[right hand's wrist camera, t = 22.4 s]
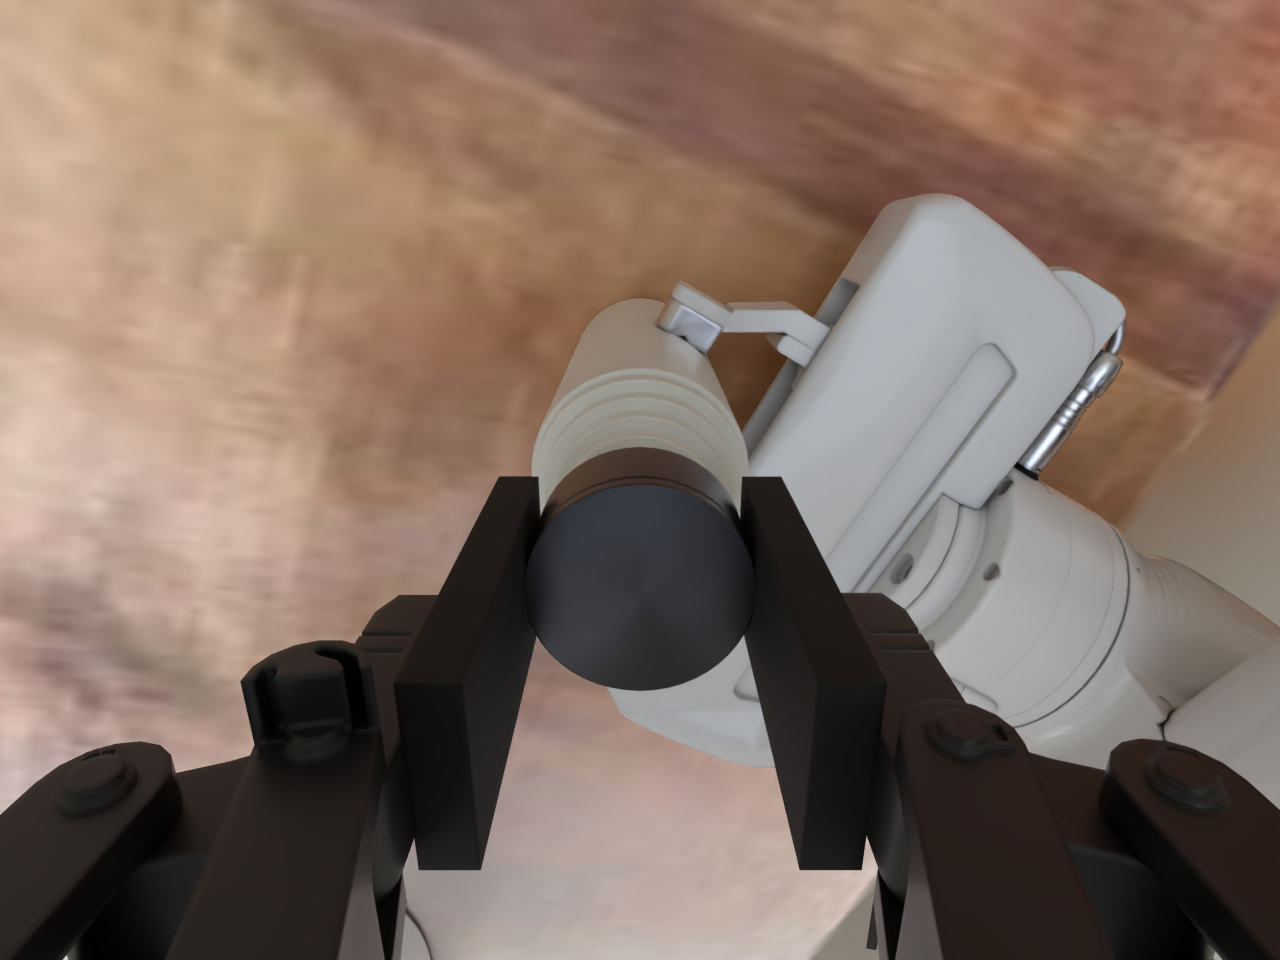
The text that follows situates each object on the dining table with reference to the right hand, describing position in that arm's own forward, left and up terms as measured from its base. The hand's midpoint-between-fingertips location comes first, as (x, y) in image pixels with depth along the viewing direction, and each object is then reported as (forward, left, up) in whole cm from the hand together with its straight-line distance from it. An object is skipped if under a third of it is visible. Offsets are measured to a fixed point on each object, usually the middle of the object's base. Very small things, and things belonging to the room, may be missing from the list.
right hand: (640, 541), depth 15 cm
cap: (0, 0, +2) cm, 2 cm away
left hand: (0, -1, -11) cm, 11 cm away
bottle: (0, 0, -17) cm, 17 cm away
